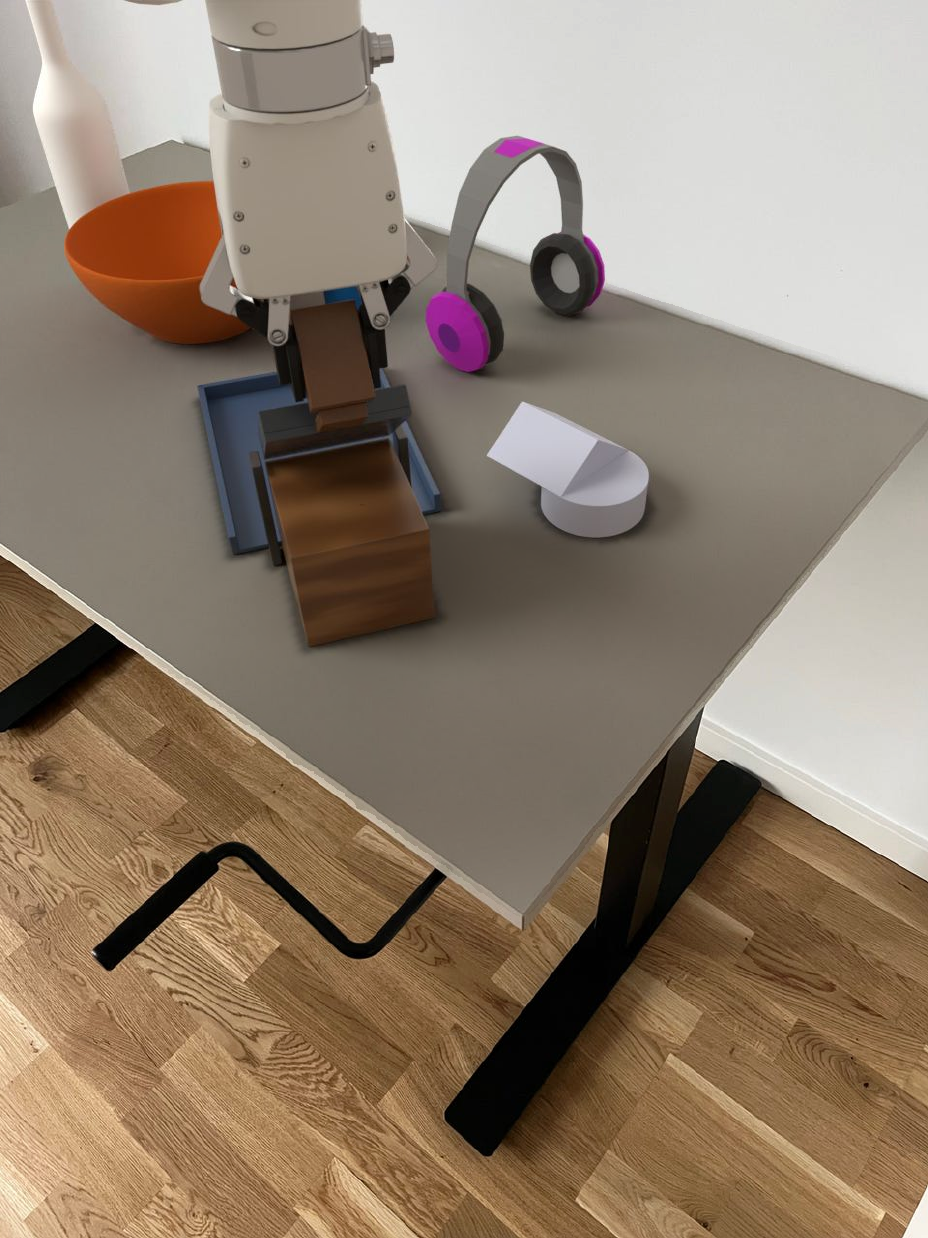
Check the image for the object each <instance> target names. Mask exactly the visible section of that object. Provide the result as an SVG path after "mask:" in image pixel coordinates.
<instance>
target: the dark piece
mask: <svg viewBox="0 0 928 1238" xmlns="http://www.w3.org/2000/svg"><path fill="white" fill-rule="evenodd" d="M289 324H290V325H291V326H292V328H293V331H294V334H295V337H296V340H297V343H298V347H299V353H300V359H301V366H302V372H303V379H304V385H305V391H306V396H307V400H308V402H306V403H301V404H295V405H290V406H285V407H279V408H274V409H268V410H263V411H259V418H258V435H259V440H260V444H261V448H262V452H263V457H264V460H267V459H272V458H277V457H282V456H287V455H293V454H298V453H303V452H308V451H313V450H318V449H324V448H329V447H334V446H339V445H344V444H349V443H355V442H360V441H365V440H370V439H375V438H380V437H386V436H389V435H390V434H391V433H392V432H394V431H395V430H396V429H397V428H398V427H399V426H400V425H401V424H403V423H404V422H405V421H408V419H410V417H412V416H413V412H412V407H411V402H410V397H409V392H408V389H407V385H406V383H404V384H399V385H393V386H390V387H388V388H382V389H377V390H374V386H373V381H372V376H371V372H370V367H369V362H368V358H367V353H366V348H365V344H364V339H363V335H362V330H361V325H360V321H359V316H358V311H357V307H356V302H355V300H354V299H353V300H347V301H341V302H335V303H329V304H325V303H323V304H317V305H312V306H311V305H310V306H305V307H300V308H294V309H290V315H289Z"/></svg>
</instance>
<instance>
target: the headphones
mask: <svg viewBox="0 0 928 1238" xmlns="http://www.w3.org/2000/svg"><path fill="white" fill-rule="evenodd" d="M539 154H540V155H541V156H542V158H544V159H545V162H547V164H548V166H549V168H550V170H551V171H552V173H553V175H554V176H555V178H556V179H555V180H556V183H557V188H558V193H559V198H560V212H561V213H560V214H561V230H560V231H559V232H553V233H551V234H548V235H546V236H544V237H543V238H541V239H540V240H539V242H537V244H536V246H535V247H534V248H533V249H532V254H531V257H530V263H529V272H530V281H531V285H532V287H533V289H534V292H535V295H536V296H537V297H538V299H539V300H540V301H541V302H542V304H543V306H545V307H546V308H548V309H549V310H551V311H552V312H553V313H555V314H556V315H560V316H561V315H562V316H567V317H569V316H572V315H576V314H579V313H581V312H583V311H584V309H586V308H589V307H590V306H592V305H593V304H594V303H595V302H596V300H597V299H598V298H599V297H600V295H601V294H602V292H603V288H604V285H605V283H606V273H605V272H606V270H605V264H604V261H603V257H602V254H601V252H600V249H599V248H598V247H597V245H596V244H595V243H594V242H593V240H592V239H591V238H590V237H588V236H587V235H586V234H584V232H583V220H584V219H583V217H584V215H583V213H584V199H583V197H584V196H583V185H582V183H583V181H582V178H581V175H580V172H579V169H578V166H577V165H578V164H577V163H576V162H575V160H574V158H572V157H571V155H570V154H569V153H568V151H566V150H563V149H561V148H558V147H556V146H553V145H550V144H547V143H544V142H540V141H537V140H533V139H531V138H528V137H524V136H520V135H512V136H506V137H500V138H498V139H497V140H496V141H494V142H493V143H491V144H490V145H488V146H486V148H484V149H483V150H482V152H481V153H480V154H479V155H478V157H477V159H476V160H475V161H474V162H473V163H472V165H471V167H470V168H469V169H468V172H467V175H466V177H465V179H464V181H463V182H462V183H463V184H462V186H461V188H460V189H459V192H458V196H457V201H456V205H455V208H454V213H453V218H452V222H451V227H450V231H449V239H448V244H447V249H446V286H444V288H443V289H442V290H441V292H439V293H437V294H434V295H433V296H432V297H431V299H430V301H429V303H428V304H427V306H426V310H425V323H426V327H427V332H428V334H429V337H430V339H431V341H432V343H433V345H434V347H435V349H436V351H438V353H439V354H440V355H441V356H442V358H443V359H444V360H445V361H446V363H448V364H450V365H451V366H452V367H454V368H455V369H456V370H459V371H463V372H466V373H471V372H474V371H475V372H476V371H478V370H481V369H483V368H484V366H485V365H487V364H492V363H494V362H495V361H496V360H497V359H498V358H499V357H500V355H501V354H502V352H503V350H504V344H505V343H504V342H505V331H504V326H503V321H502V318H501V316H500V313H499V312H498V310H497V307H496V306H495V304H494V303H493V302H492V301H491V299H490V298H489V297H488V296H487V294H486V293H485V292H483V291H481V290H480V289H479V288H478V287H476V286H475V285H473V284H471V283H468V277H469V276H468V275H469V266H470V265H469V264H470V260H471V255H472V252H473V250H474V249H473V248H474V246H475V242H476V239H477V235H478V233H479V231H480V228H481V226H482V224H483V222H484V220H485V217H486V215H487V213H488V210H489V208H490V206H491V205H492V203H493V202H494V201H495V199H496V197H497V195H498V194H499V192H500V190H501V189H502V187H503V185H504V184H505V183H506V182H507V181H508V180H509V179H510V178H511V176H512V175H513V174H514V173H515V172H516V171H517V170H518V169H519V167H520V166H522V165H523V164H525V163H526V162H528V161H529V160H531V159H532V158H534V157H535V156H537V155H539Z"/></svg>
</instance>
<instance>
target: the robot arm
mask: <svg viewBox="0 0 928 1238" xmlns="http://www.w3.org/2000/svg"><path fill="white" fill-rule="evenodd" d="M124 1H125V2H128V3H133V4H139V5H149V6H162V5H163V6H164V5H169V4H174V3H176V4H177V3H179V2H182V1H183V0H124ZM204 2H205V3H204V4H205V7H206V13H207V18H208V24H209V29H210V33H211V41H212V42H211V43H212V47H213V52H214V59H215V64H216V70H217V75H218V80H219V86H220V92H221V93H220V94H217V95H215V96H213V97H212V98H210V100H209V102H208V136H209V138H208V139H209V151H210V152H209V153H210V162H211V172H212V179H213V181H214V187H215V194H216V201H217V207H218V214H219V220H220V226H221V233H222V237H221V239H220V241H219V244H218V246H217V248H216V250H215V253H214V255H213V257H212V259H211V261H210V264H209V266H208V268H207V270H206V272H205V275H204V277H203V279H202V281H201V283H200V286H199V290H200V295H201V299H202V302H203V303H204V304H205V305H207V306H210V307H212V308H214V309H217V310H219V311H222V312H224V313H226V314H229V315H233V316H236V317H238V319H239V320H240V321H242V322H243V323H245V324H246V325H248V326H250V327H251V328H250V329H253V330H254V331H256V332H257V333H259V334H260V335H262V336H264V337H265V338H266V339H267V340H268V343H269V344H270V345H271V348H272V352H273V353H272V354H273V358H274V364H275V369H276V370H275V371H277V375H278V379H279V383H280V385H285V384H290V386H291V389H292V392H293V396H294V399H295V402H301V401H304V399H306V392H305V385H304V379H303V372H302V366H301V359H300V353H299V347H298V343H297V340H296V337H295V334H294V331H293V328H292V326H291V324H290V320H289V316H290V310H291V299H292V297H294V296H300V295H306V294H315V293H320V292H323V291H328V290H334V289H340V288H347V287H353V286H356V287H357V290H358V293H359V296H360V299H361V302H362V304H361V305H360V307H359V309H358V310H357V311H358V316H359V321H360V325H361V330H362V335H363V339H364V344H365V348H366V353H367V358H368V362H369V367H370V372H371V376H372V381H373V386H374V389H376V388H381V381H380V370H379V369H380V368H382V369H386V368H388V366H389V362H388V353H387V350H388V349H387V341H386V339H387V338H386V330H385V329H387V327H389V325H390V323H391V316H392V315H393V314H394V313H395V311H396V310H397V309H398V308H399V307H400V305H402V303H403V302H404V301H405V299H407V297H408V296H409V294H410V293H411V290H412V289H413V288H415V287H417V286H418V285H419V284H420V283H422V282H423V281H424V280H425V279H427V278H428V277H429V276H430V275H431V274H432V273H434V272H435V270H436V269H437V267H438V260H437V258H436V257H435V255H434V254H433V252H432V250H431V249H430V247H429V246H428V245H427V244H426V242H425V241H424V240H423V239H422V238H421V236H420V235H419V234H418V232H417V231H416V230H415V229H414V227H412V225H411V224H410V223H409V222H408V220H407V219H406V218H405V213H404V206H403V199H402V198H403V197H402V192H401V184H400V177H399V171H398V164H397V159H396V153H395V152H396V151H395V147H394V142H393V138H392V132H391V127H390V122H389V119H388V115H387V111H386V106H385V103H384V100H383V97H382V93H381V91H380V87H379V86H378V84H377V83H375V82H374V81H372V77H371V75H374V74H375V73H374V70H375V69H376V68H381V65H386V64H393V63H394V61H395V47H394V42H393V37H392V34H391V33H390V32H389V33H388V32H387V33H379V34H377V32H376V31H370V30H369V29H368V28H367V27H366V26H365V25H364V18H363V17H364V16H363V6H362V0H204ZM233 277H234V280H235V283H236V286H237V288H238V290H237V289H236V288H234V287H232V286H231V285H230V284H231V281H232V279H233ZM259 299H262V301H261V300H259Z"/></svg>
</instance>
